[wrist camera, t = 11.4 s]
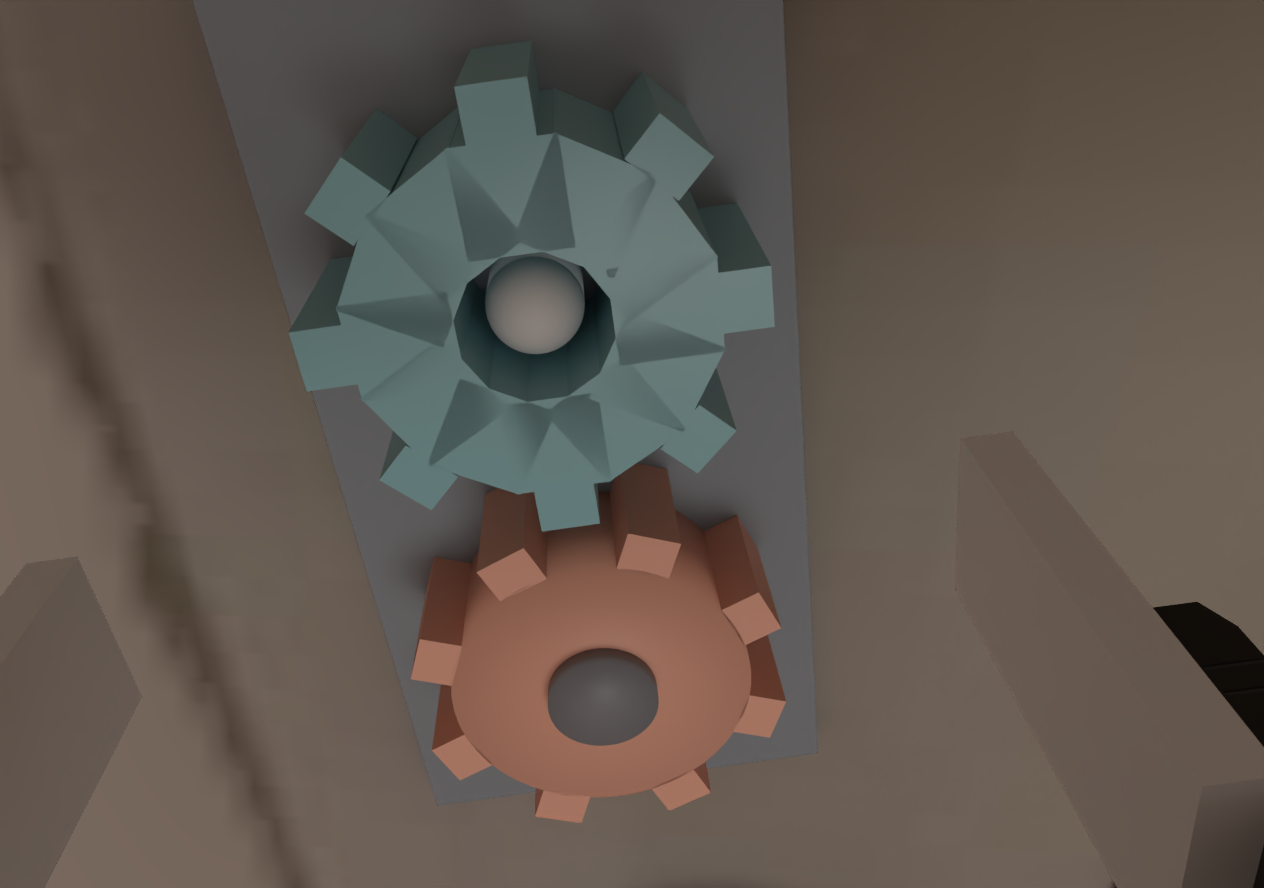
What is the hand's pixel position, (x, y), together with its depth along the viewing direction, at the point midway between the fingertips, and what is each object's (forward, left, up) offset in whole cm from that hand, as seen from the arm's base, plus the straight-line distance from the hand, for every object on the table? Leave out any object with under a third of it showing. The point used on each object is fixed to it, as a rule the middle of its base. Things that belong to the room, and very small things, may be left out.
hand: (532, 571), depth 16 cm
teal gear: (0, 0, -14) cm, 14 cm away
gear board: (+5, +4, -15) cm, 16 cm away
